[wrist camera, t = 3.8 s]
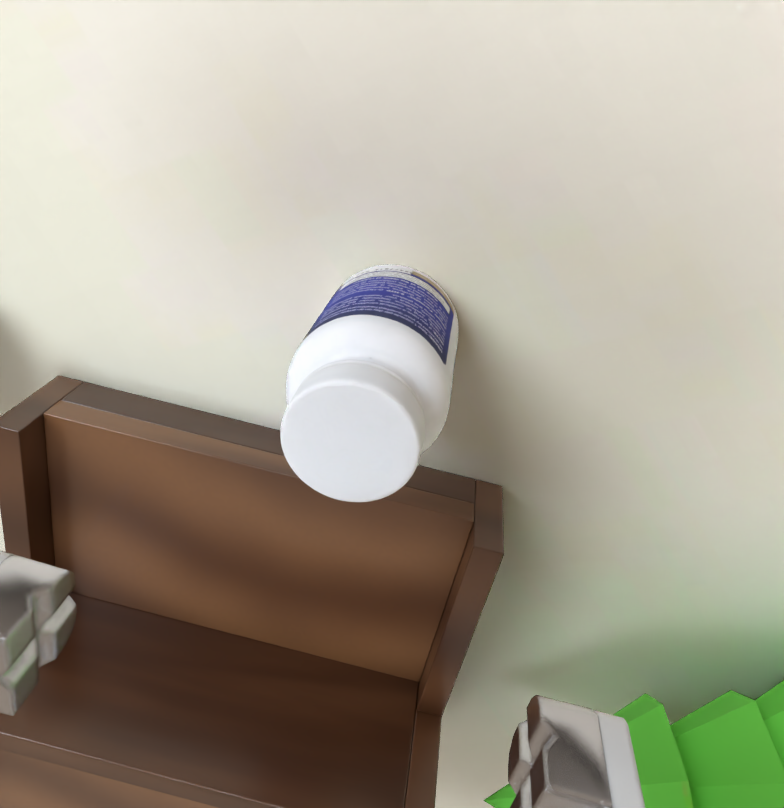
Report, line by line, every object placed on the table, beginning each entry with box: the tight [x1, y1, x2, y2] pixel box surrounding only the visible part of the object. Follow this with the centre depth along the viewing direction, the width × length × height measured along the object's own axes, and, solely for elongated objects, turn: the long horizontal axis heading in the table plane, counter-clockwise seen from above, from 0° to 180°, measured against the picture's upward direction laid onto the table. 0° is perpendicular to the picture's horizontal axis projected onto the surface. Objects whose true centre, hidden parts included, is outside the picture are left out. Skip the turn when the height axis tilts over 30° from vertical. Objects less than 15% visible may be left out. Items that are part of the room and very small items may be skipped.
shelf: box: [0, 376, 504, 808], centre depth 27 cm, size 16×20×12 cm
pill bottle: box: [280, 264, 459, 502], centre depth 21 cm, size 5×5×9 cm
